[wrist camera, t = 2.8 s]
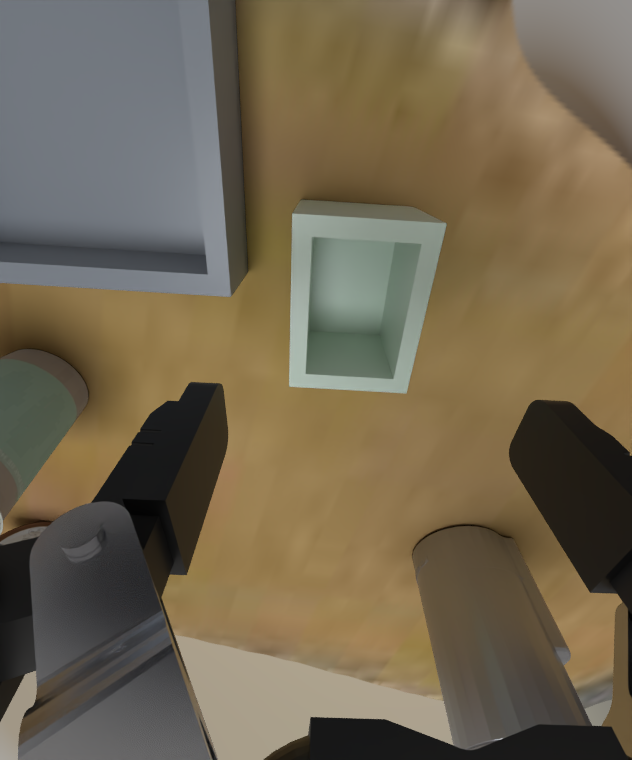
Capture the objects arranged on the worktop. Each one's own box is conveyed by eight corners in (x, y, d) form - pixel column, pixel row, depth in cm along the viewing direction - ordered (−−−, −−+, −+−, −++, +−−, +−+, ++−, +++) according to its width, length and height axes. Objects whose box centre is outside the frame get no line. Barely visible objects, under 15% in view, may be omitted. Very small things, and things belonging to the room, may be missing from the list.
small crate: (413, 206, 18) (446, 223, 13) (387, 341, 23) (406, 393, 18) (300, 199, 18) (292, 213, 13) (296, 336, 23) (289, 386, 18)
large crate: (226, -196, 12) (180, -364, 8) (248, 271, 20) (231, 296, 17) (-247, -235, 12) (-522, -426, 8) (-25, 254, 20) (-106, 276, 16)
